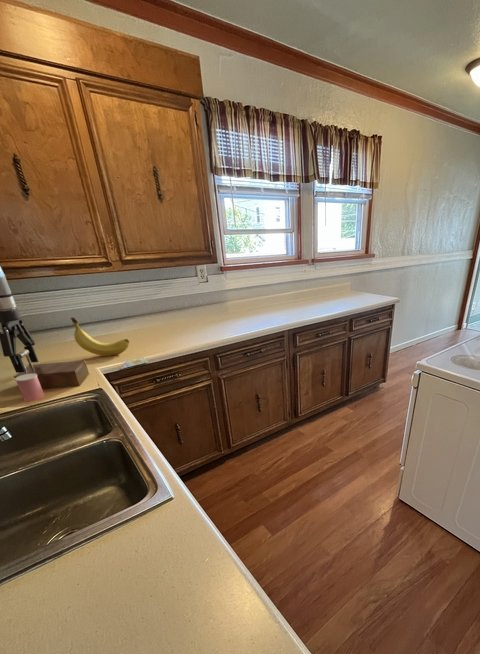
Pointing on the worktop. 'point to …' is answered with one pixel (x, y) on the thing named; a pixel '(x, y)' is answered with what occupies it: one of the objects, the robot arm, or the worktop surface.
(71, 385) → the brown wooden box
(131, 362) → the baking ingredient package
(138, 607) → the worktop surface
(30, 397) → the liner stack
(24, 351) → the lid
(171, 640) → the worktop surface
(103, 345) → the banana
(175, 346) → the worktop surface
